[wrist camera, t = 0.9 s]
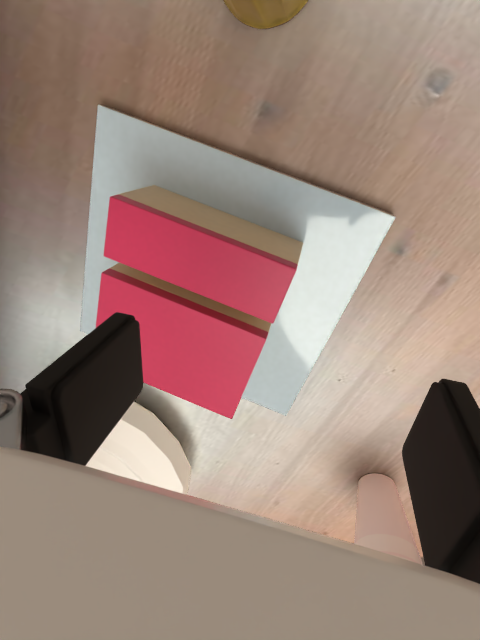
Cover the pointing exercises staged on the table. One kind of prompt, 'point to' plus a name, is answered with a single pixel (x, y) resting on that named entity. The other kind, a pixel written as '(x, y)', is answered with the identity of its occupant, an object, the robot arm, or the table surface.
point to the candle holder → (144, 452)
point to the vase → (264, 11)
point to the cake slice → (202, 249)
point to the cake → (186, 338)
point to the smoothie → (383, 519)
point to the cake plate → (251, 205)
